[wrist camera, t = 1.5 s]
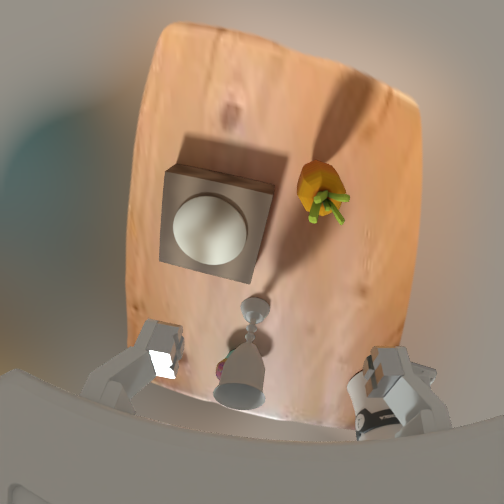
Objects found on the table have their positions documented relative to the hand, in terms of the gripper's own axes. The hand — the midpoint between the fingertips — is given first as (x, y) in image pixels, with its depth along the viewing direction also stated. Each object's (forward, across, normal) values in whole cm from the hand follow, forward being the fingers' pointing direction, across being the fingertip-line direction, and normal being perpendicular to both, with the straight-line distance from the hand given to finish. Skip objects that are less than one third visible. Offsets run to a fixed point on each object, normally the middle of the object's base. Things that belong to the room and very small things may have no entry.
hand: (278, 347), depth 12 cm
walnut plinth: (+30, -8, -11) cm, 33 cm away
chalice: (+29, -1, -26) cm, 39 cm away
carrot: (+30, +4, -1) cm, 30 cm away
